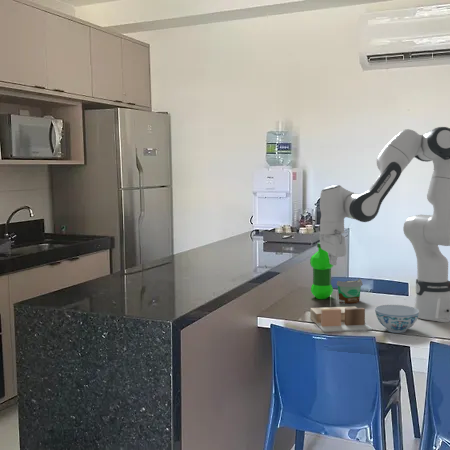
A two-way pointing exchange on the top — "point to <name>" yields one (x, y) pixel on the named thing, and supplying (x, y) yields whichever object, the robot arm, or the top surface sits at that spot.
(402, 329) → the chinaware
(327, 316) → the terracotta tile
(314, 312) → the birch deck
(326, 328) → the grey mat
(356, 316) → the walnut tile
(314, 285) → the plastic bottle
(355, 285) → the food container
